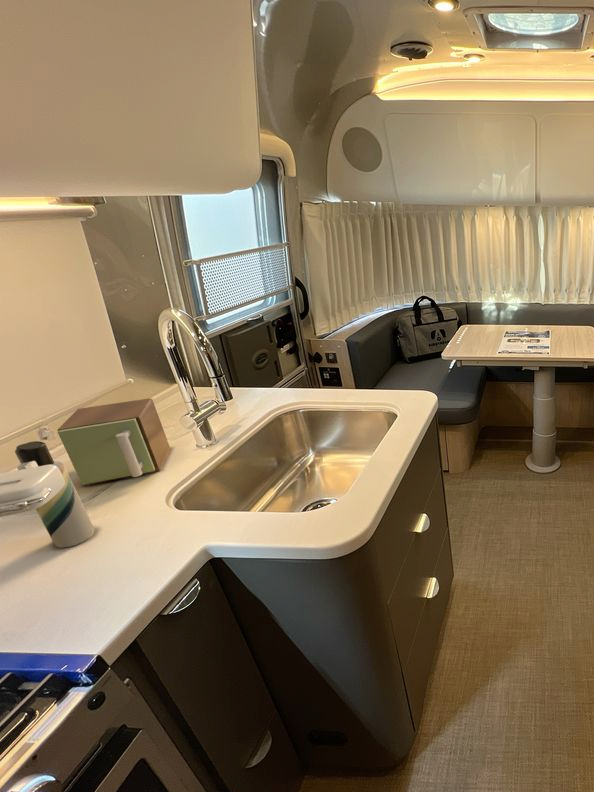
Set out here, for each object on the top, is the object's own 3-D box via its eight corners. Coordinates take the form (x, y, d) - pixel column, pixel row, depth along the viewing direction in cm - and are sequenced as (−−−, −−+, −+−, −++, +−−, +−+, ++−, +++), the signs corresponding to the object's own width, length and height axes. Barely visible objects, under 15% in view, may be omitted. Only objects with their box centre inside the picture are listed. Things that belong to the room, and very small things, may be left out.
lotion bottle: (55, 537, 91) (6, 443, 82) (95, 524, 94) (51, 433, 86) (54, 552, 87) (3, 456, 79) (95, 538, 90) (50, 444, 82)
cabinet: (83, 486, 107) (57, 429, 101) (101, 461, 117) (77, 408, 111) (159, 471, 112) (139, 416, 106) (170, 448, 122) (151, 397, 116)
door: (74, 495, 101) (48, 441, 96) (83, 482, 106) (59, 430, 101) (149, 480, 107) (128, 427, 101) (155, 469, 111) (135, 418, 106)
